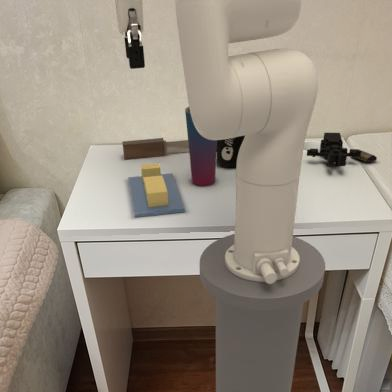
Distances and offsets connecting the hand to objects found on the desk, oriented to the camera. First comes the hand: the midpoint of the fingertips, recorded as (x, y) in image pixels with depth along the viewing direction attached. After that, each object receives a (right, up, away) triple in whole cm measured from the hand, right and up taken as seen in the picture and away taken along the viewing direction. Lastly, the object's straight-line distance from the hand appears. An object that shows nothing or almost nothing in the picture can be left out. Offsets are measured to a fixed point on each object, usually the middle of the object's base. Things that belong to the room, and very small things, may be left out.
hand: (135, 62), depth 109 cm
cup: (+15, -26, +1) cm, 30 cm away
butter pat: (+3, -25, +1) cm, 25 cm away
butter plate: (+5, -30, -3) cm, 31 cm away
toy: (+44, -23, 0) cm, 50 cm away
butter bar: (+5, -32, -6) cm, 32 cm away
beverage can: (+21, -19, +9) cm, 30 cm away
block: (+52, -18, +8) cm, 56 cm away
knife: (+5, -14, +14) cm, 21 cm away
